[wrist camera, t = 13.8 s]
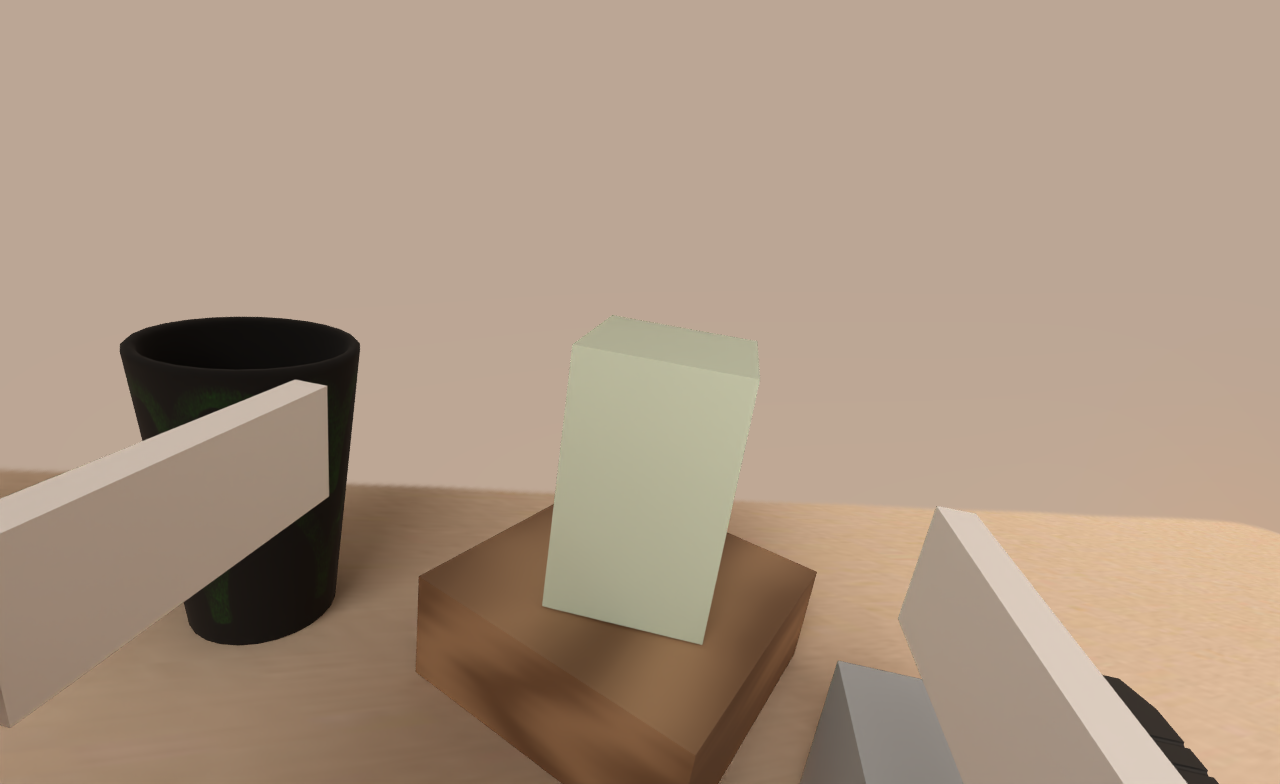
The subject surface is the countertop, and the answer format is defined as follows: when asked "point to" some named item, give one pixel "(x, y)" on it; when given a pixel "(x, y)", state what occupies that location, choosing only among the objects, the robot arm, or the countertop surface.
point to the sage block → (648, 474)
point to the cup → (222, 376)
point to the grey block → (878, 732)
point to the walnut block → (607, 662)
